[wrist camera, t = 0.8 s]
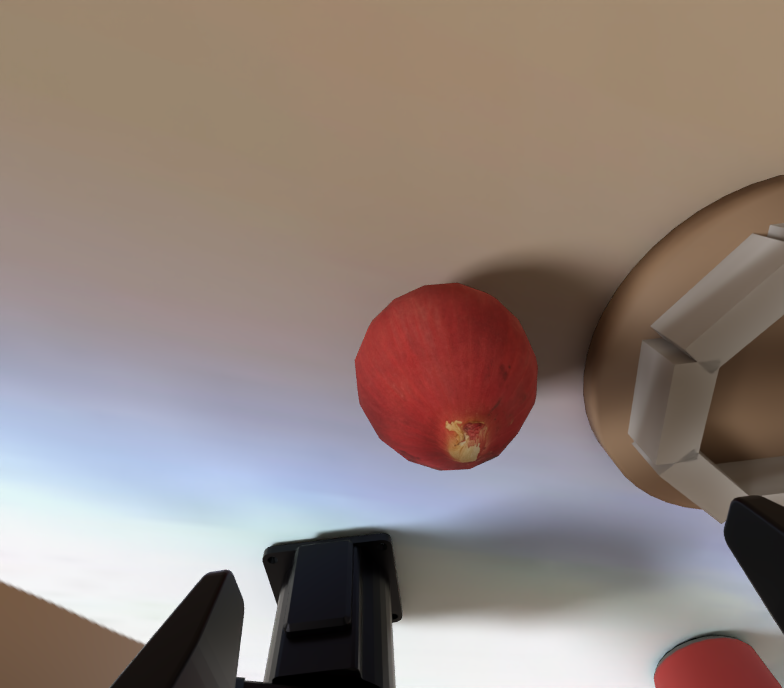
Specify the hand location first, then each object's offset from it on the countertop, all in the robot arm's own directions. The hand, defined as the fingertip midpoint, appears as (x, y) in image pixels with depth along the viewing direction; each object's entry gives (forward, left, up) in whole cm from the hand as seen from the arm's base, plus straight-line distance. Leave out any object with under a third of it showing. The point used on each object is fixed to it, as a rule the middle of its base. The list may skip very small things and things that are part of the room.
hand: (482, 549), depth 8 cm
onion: (0, 0, -11) cm, 11 cm away
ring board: (-3, -14, -11) cm, 18 cm away
